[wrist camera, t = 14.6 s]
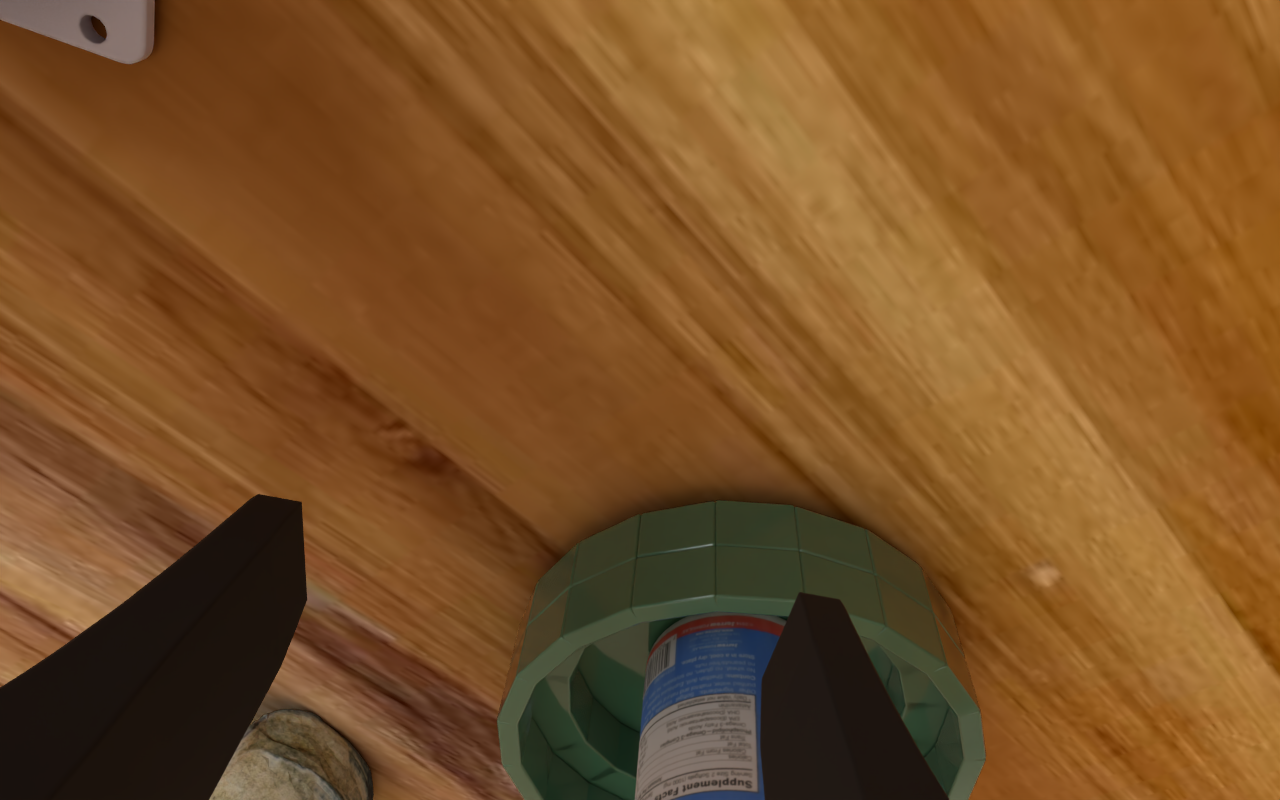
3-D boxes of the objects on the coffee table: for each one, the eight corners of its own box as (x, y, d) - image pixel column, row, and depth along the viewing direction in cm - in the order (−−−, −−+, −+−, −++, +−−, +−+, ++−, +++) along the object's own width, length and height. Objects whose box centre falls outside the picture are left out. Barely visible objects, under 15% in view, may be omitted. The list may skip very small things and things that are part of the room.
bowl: (481, 709, 30) (452, 821, 27) (597, 426, 23) (578, 532, 19) (828, 803, 32) (841, 919, 28) (1040, 570, 24) (1091, 689, 21)
